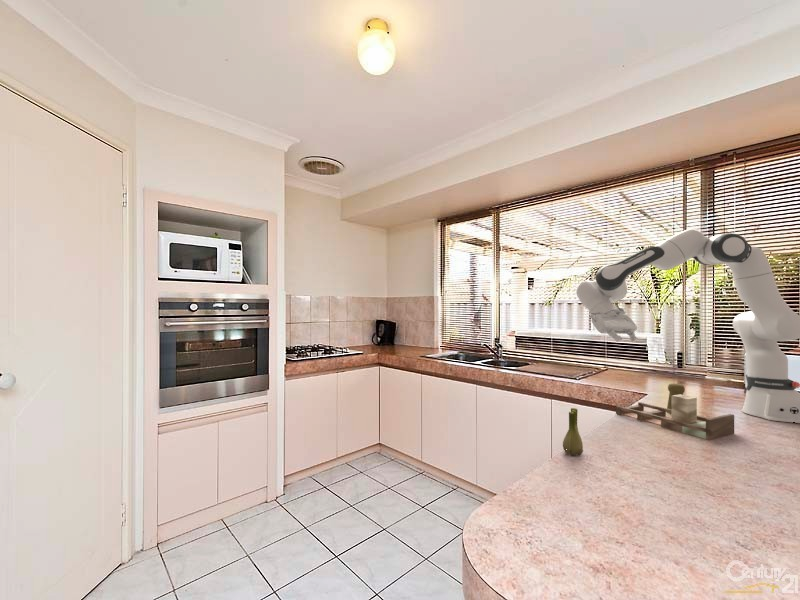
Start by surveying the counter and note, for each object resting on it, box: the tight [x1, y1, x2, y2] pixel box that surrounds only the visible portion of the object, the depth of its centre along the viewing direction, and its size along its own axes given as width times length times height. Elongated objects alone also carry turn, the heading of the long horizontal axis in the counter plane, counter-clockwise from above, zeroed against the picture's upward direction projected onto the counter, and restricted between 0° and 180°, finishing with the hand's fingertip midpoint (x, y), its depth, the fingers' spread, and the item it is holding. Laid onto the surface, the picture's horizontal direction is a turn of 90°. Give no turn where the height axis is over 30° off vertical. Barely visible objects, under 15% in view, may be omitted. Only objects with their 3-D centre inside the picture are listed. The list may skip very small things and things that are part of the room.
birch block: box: [670, 394, 698, 424], centre depth 127 cm, size 5×5×8 cm
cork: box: [666, 383, 686, 415], centre depth 144 cm, size 6×6×11 cm
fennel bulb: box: [562, 407, 584, 456], centre depth 102 cm, size 6×5×12 cm
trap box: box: [615, 402, 735, 441], centre depth 131 cm, size 30×14×6 cm, turn 25°
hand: (627, 340), depth 145 cm, fingers open, 8 cm apart
